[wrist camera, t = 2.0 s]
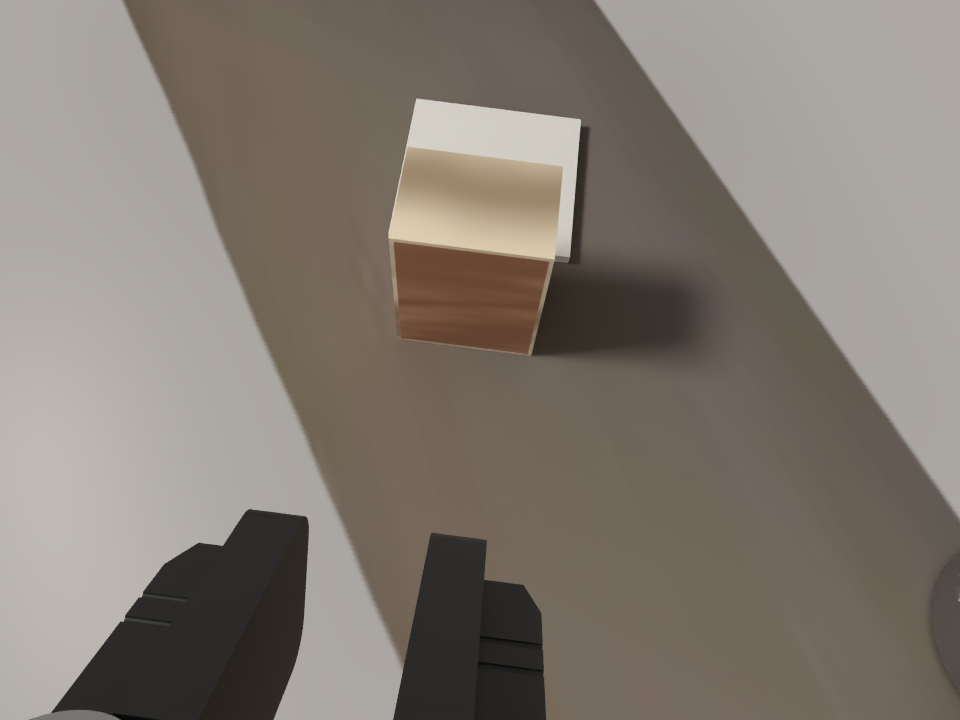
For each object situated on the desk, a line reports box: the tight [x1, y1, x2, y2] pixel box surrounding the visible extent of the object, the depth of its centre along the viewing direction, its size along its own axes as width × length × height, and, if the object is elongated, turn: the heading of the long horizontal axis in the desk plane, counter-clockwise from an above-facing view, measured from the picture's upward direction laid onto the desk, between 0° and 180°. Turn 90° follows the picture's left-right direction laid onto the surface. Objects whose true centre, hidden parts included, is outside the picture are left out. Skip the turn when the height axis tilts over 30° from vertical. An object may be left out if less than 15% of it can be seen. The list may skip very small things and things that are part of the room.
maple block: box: [389, 147, 563, 356], centre depth 38 cm, size 5×7×9 cm
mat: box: [388, 99, 581, 263], centre depth 46 cm, size 10×10×1 cm
